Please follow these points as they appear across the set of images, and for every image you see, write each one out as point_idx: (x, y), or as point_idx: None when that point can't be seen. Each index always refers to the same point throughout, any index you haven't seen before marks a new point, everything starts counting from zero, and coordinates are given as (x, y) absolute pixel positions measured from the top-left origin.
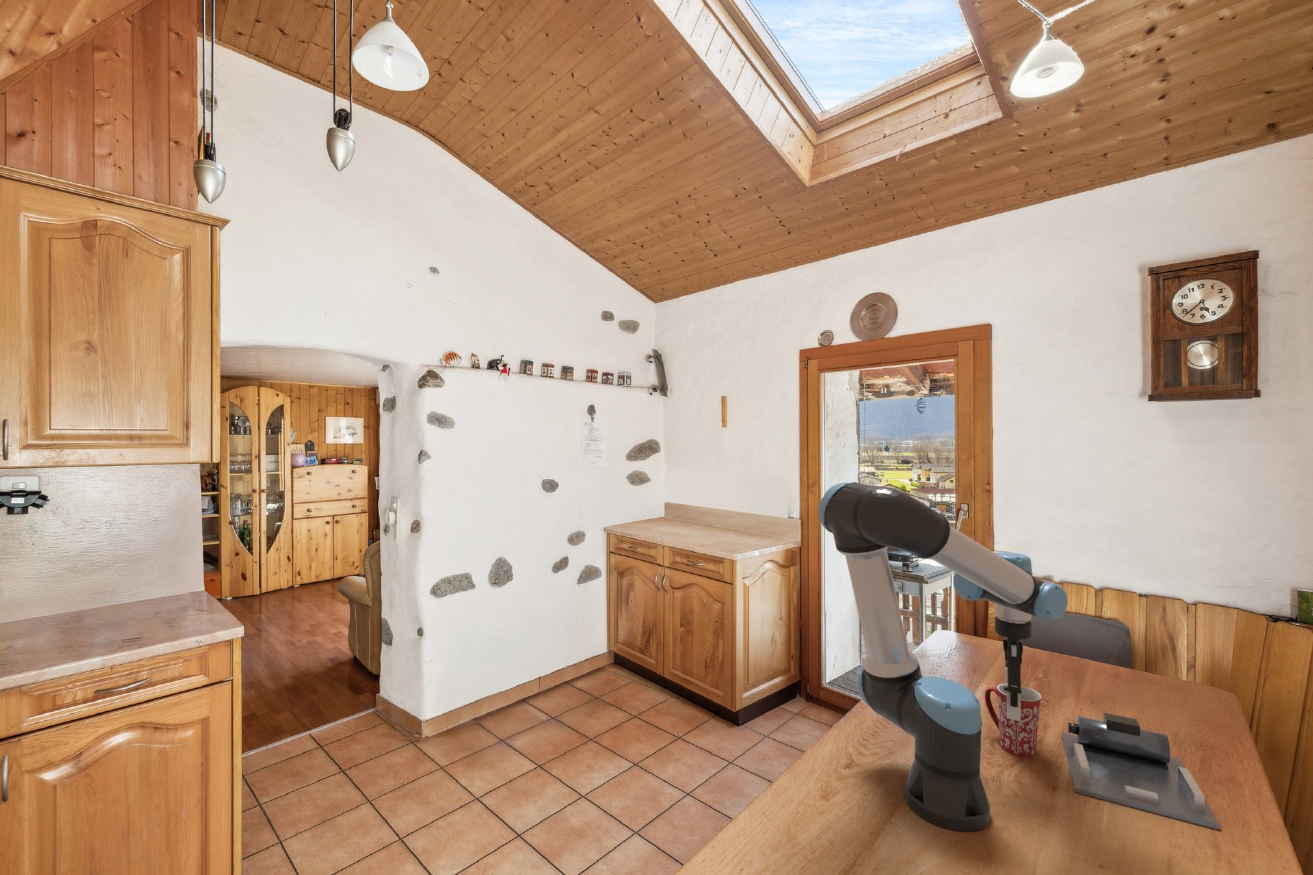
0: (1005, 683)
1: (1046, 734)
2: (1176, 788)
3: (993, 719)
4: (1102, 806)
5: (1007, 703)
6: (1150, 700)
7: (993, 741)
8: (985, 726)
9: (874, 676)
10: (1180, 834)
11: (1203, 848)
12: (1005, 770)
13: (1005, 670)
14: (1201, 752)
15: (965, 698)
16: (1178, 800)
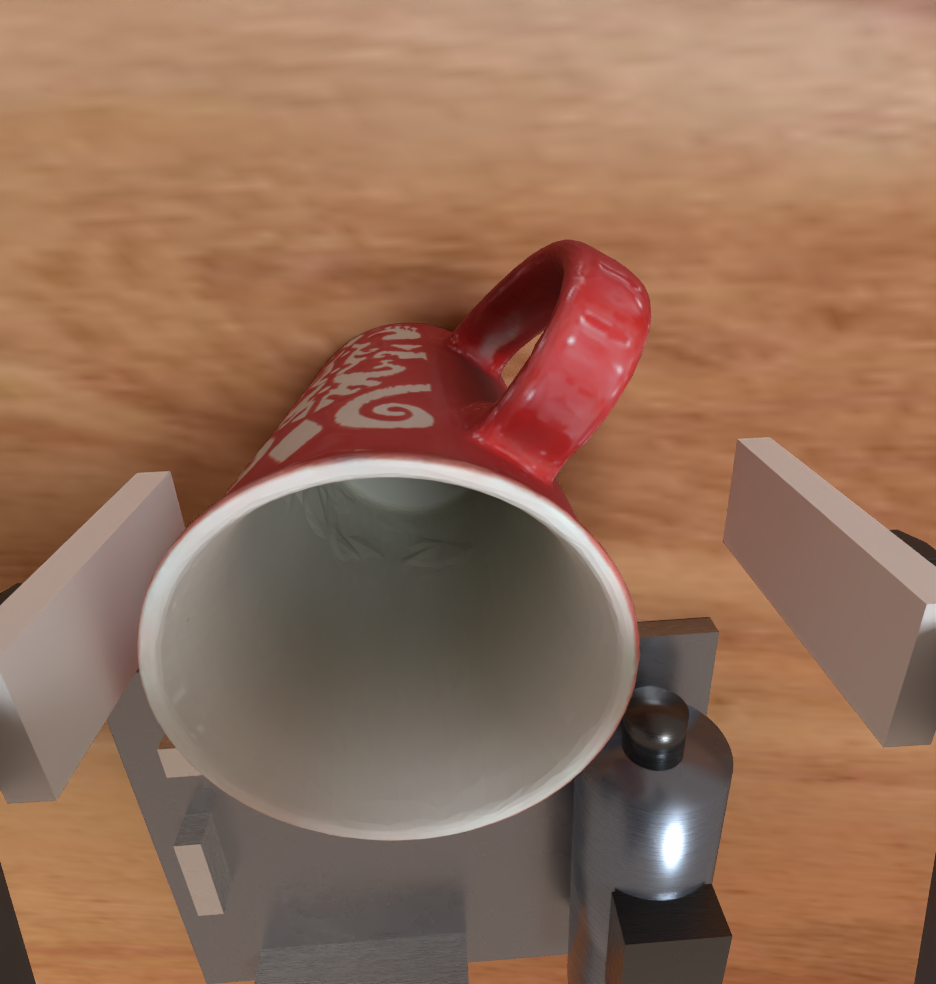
0: (796, 494)
1: (698, 556)
2: (395, 925)
3: (483, 302)
4: None
5: (59, 555)
6: None
7: (413, 283)
8: (636, 216)
9: None
10: (80, 896)
11: (44, 930)
12: (45, 369)
13: (907, 590)
14: (795, 972)
15: None
16: (297, 924)
